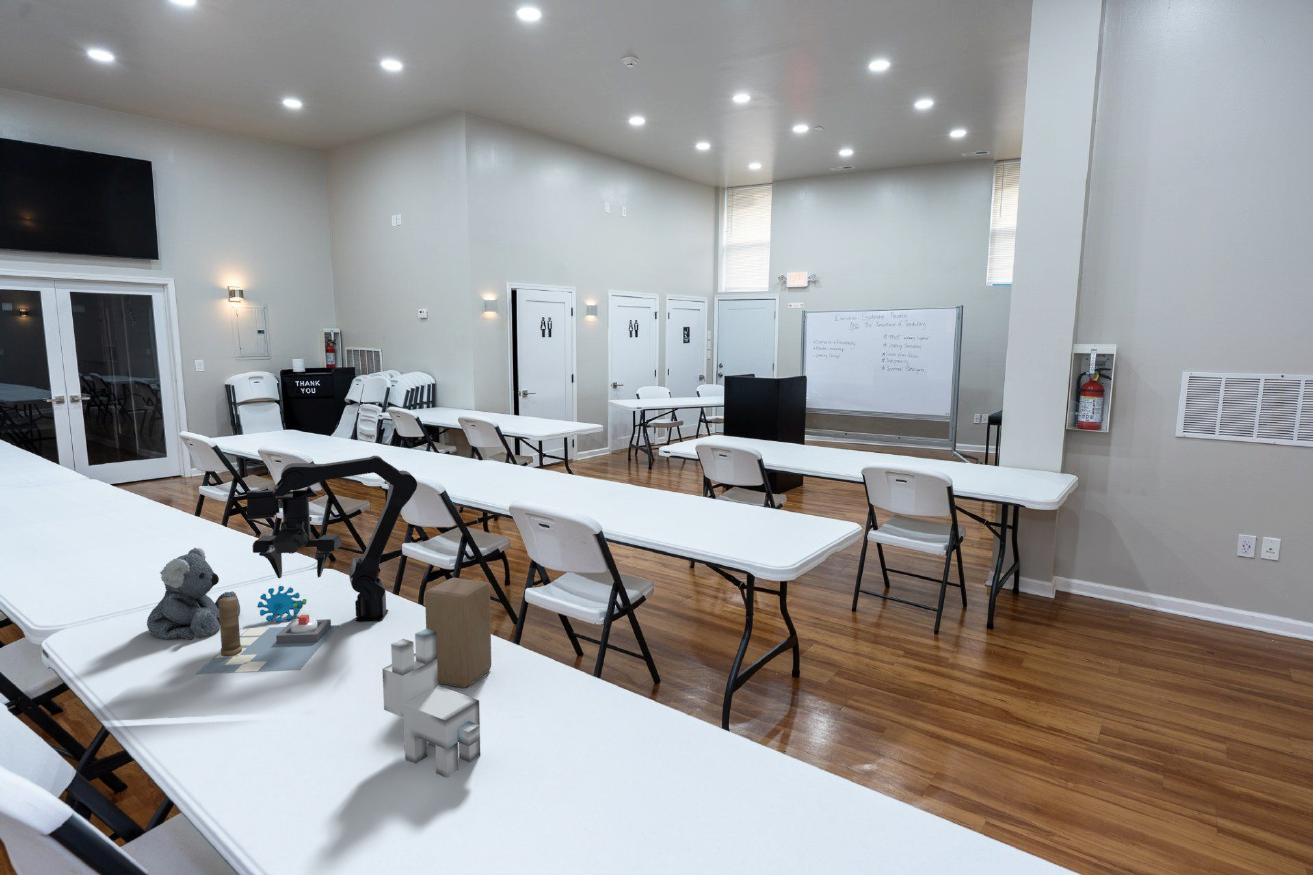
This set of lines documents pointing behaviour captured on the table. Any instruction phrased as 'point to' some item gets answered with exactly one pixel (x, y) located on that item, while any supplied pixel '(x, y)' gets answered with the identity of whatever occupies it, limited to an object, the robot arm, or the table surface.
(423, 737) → the toy llama
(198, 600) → the koala plush
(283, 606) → the blue spiky piece
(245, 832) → the table surface
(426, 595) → the block
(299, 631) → the dome button
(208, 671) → the board
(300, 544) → the robot arm
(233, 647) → the brown wooden cylinder
